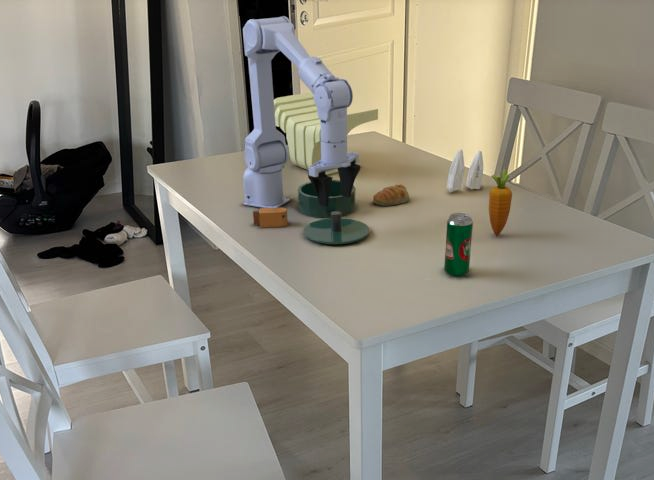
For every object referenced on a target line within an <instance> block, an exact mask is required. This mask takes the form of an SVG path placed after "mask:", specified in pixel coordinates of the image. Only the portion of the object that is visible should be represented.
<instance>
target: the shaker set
mask: <svg viewBox="0 0 654 480" xmlns="http://www.w3.org/2000/svg"><path fill="white" fill-rule="evenodd" d="M483 159H484V158H483V151H482V150H478V151H477V152H476V154H475V155H474V157H473V159H472V161H471V163H470V165H469V168H468V172H467V178H466V183H465V187H466V188H468V189H469V190H474V189H475V190H480V189H481V185H482V180H483V174H484V160H483ZM465 168H466V167H465V158H464V151H463V149H459V150H458V151H457V152H456V154H455V155H454V158H453V160H452V161H451V164H450V166H449V170H448V175H447V182H446V189H447V190H448V192H449V193H454V192H458V191H460V190H462V186H463V180H464V175H465Z"/></svg>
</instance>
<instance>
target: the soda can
mask: <svg viewBox="0 0 654 480" xmlns="http://www.w3.org/2000/svg"><path fill="white" fill-rule="evenodd" d="M473 227H474V221H473V220H472V215H470V214H469V213H463V212H455V213H451V214H449V218H448V219H447V220H446V232H445V234H446V235H445V237H446V238H445V248H444V250H445V251H444V265H443V266H444V267H443V270H444V272H445V273H446V274H447V275H448V276H451V277H464V276H466V275H467V274H468V273H469V272H470V264H471V252H472V250H471V249H472V239H473V238H472V237H473Z"/></svg>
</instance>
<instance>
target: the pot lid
mask: <svg viewBox="0 0 654 480" xmlns="http://www.w3.org/2000/svg"><path fill="white" fill-rule="evenodd" d="M302 232H303V233H302V234H303V235H304V237H305V238H307V239H308V240H309V241H312V242H314V243H318V244H319V243H320V244H326V245H346V244H352V243H355V242H359V241H362V240H364V239H365V238H367V237H368V236H369V235H370V227H369V226H368V224H366V223H364V222H362V221H360V220H357V219H353V218H344V217H343V218H342V216H341V212H339V211H334V212H331V218H321V219H318V220H315V221H312V222H310V223H308V224H306V225H305V226H304V228H303V231H302Z"/></svg>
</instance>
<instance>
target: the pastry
mask: <svg viewBox="0 0 654 480" xmlns="http://www.w3.org/2000/svg"><path fill="white" fill-rule="evenodd" d="M409 200H410V195H409V192H408V190H407V187H406V186H405V185H403V184H395V185H390V186H386V187H383V188H382V190H380V191H378V192H377V193H375V194H374V195H373V197H372V203H374V204H376V205H380V206H383V207H388V206H394V205H401V204H405V203H407V202H408V201H409Z"/></svg>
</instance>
